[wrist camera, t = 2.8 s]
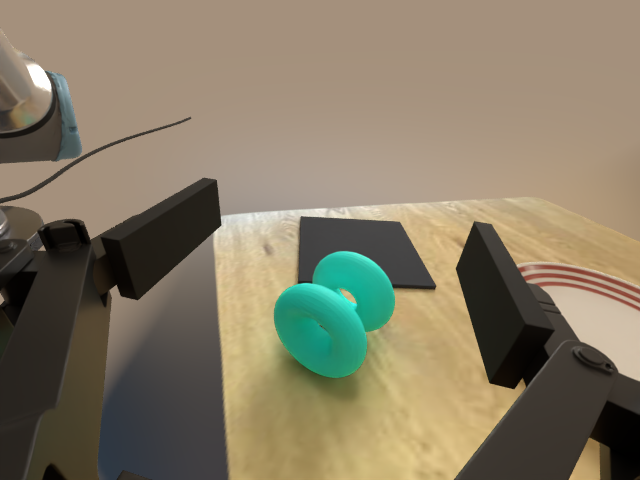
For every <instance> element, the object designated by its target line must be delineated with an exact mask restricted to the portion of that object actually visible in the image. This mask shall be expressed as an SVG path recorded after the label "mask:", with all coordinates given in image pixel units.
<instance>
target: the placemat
mask: <svg viewBox="0 0 640 480" xmlns="http://www.w3.org/2000/svg"><path fill="white" fill-rule="evenodd" d="M340 251H348V252H354V253H358V254H361V255H363V256H365V257H367V258H369V259H370V260H372V261H373V262H375V263H376V264H377V265H378V266H379V267H380V268H381V269H382V270H383V271H384V272H385V274H386V275H387V277H388V278H389V280H390V282H391V285H392V287H395V288H421V289H435V288H436V285H435V283H434V281H433V279H432V278H431V276H430V274H429V272H428V271H427V269H426V267H425V265H424V264H423V262H422V260H421V258H420V257H419V255H418V253H417V251H416V249H415V248H414V246H413V244H412V242H411V241H410V239H409V237H408V235H407V234H406V232H405V230H404V228H403V227H402V225H401V223H400V222H394V221H376V220H358V219H339V218H321V217H303V216H301V224H300V250H299V275H298V284H302V283H311V284H313V274H314V271H315V269H316V267H317V265H318V264H319V262H320V261H321V260H322V259H323V258H325V257H326V256H327V255H329V254H332V253H335V252H340Z"/></svg>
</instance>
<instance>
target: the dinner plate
mask: <svg viewBox="0 0 640 480" xmlns="http://www.w3.org/2000/svg"><path fill="white" fill-rule="evenodd" d="M516 266H517V267H518V269H519V271H520V272H521V274H522V276H523V277H524V279H525V281H526V282H527V283H532V284H537V285H538V286H540V287H541V288H542V289H543V290H544V291H546V292H547V293H548V294H549V295H550V297H551V298H552V300H553V301H554V303H555V304H556V306H557V307H558V309H559V310H560V312H561V315H563V316H564V317H565V319H566V320H567V322H568V323H569V325H570V326H571V328H572V329H573V331H574V332H575V334H576V335H577V337H578V338H579V340H580V341H581V342H584V343H586V344H588V345H590V346H592V347H594V348H596V349H598V350H599V351H601V352H602V353H604V354H605V355H606V356H607V357H608V358H609V359H610V360H611V361H612V362H614V364H615V366H616V367H617V369H618V372H619V373H621V374H623V375H625V376H628V377H630V378H633V379H635V380H638V381H640V286H638V285H635V284H633V283H630V282H628V281H625V280H622V279H620V278H617V277H614V276H611V275H608V274H605V273H602V272H598V271H595V270H591V269H587V268H583V267H579V266H574V265H569V264H562V263H554V262H527V263H521V264H517V265H516Z"/></svg>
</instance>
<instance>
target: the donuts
mask: <svg viewBox="0 0 640 480" xmlns="http://www.w3.org/2000/svg"><path fill="white" fill-rule="evenodd" d="M339 288H341V289H345V290H347V291H348V292H350V293H351V294H352V295H353V296H354V298H355V300H356V302H357V304H354V303H352V302H350V301H349V300H347V299H346V298H345V297H344V296H343V294H342V293H341V291H340V289H339ZM394 306H395V295H394V290H393V287H392V285H391V282H390V280H389V278H388V277H387V275H386V274H385V272H384V271H383V270H382V269H381V268H380V267H379V266H378V265H377V264H376V263H375V262H373V261H372V260H370V259H369V258H367V257H365V256H363V255H361V254H358V253H354V252H348V251H340V252H335V253H332V254H329V255H327V256H326V257H325V258H323V259H322V260H321V261H320V262H319V264H318V265H317V267H316V269H315V271H314V274H313V284H311V283H302V284H297V285H294V286H291V287H289V288H288V289H286V290H285V291H284V292H283V293H282V294H281V295H280V296H279V298H278V300H277V302H276V305H275V308H274V323H275V327H276V330H277V333H278V335H279V338H280V340H281V341H282V343H283V345H284V346H285V348H286V349H287V350H288V351H289V353H290V354H291V355H292V356H293V357H294V358H295V359H296V360H297V361H298V362H299V363H301V364H302V365H303V366H304V367H306V368H307V369H309V370H311V371H313V372H315V373H317V374H319V375H322V376H325V377H331V378H341V377H345V376H348V375H350V374H352V373H354V372H355V371H356V370H357V369H358V368H359V367H360V366H361V365H362V363H363V361H364V359H365V356H366V352H367V337H366V333H365V332H370V331H374V330H377V329H379V328H381V327H382V326H383V325H385V324H386V323H387V322H388V321H389V319H390V317H391V316H392V314H393V311H394ZM318 323H319V324H320V325H321V326H323V328H324V329H325V330H324V329H323V328H322V327H321V326H320V325H319V324H318Z"/></svg>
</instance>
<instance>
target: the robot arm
mask: <svg viewBox="0 0 640 480" xmlns="http://www.w3.org/2000/svg"><path fill="white" fill-rule="evenodd" d="M189 119H191V117H189V118H187V119H184V120H182V121H179V122H176V123H173V124H170V125H167V126H163V127H160V128H157V129H153V130H149V131H146V132H143V133H140V134H136V135H133V136H130V137H127V138H124V139H121V140H118V141H115V142H113V143H110V144H108V145H105V146H103V147H101V148H98V149H96V150H94V151H92V152H90V153H88V154H86V155H84V156H82V157H80V158H79V159H77V160H75V161H73V162H72V163H70V164H69V165H67V166H65V167H64V168H62V169H61V170H60V171H58V172H57V173H56V174H54V175H53V176H51V177H50V178H48V179H47V180H45V181H44V182H42V183H40V184H39V185H37V186H35V187H33V188H32V189H30V190H28V191H25V192H23V193H20V194H18V195H14V196H10V197H5V198H1V199H0V203H4V202H7V201H11V200H16V199H19V198H22V197H25V196H27V195H29V194H31V193H33V192H35V191H37V190H38V189H40V188H42V187H44V186H45V185H47V184H48V183H50V182H51V181H53V180H54V179H56V178H57V177H58V176H60V175H61V174H62V173H63V172H65V171H66V170H68V169H69V168H70V167H72V166H74V165H75V164H77V163H79V162H80V161H82V160H84V159H85V158H87V157H89V156H91V155H93V154H95V153H97V152H99V151H101V150H103V149H106V148H108V147H110V146H113V145H115V144H118V143H121V142H123V141H126V140H129V139H132V138H135V137H138V136H141V135H144V134H147V133H151V132H154V131H157V130H161V129H164V128H167V127H171V126H173V125H177V124H180V123H182V122H184V121H187V120H189ZM81 152H82V146H81V141H80V137H79V132H78V128H77V123H76V119H75V114H74V110H73V106H72V101H71V97H70V93H69V89H68V85H67V81H66V79H65V77H64V76H63V75H61V74H58V73H52V72H50V71H43V70H42V68H41V67H40V66H39V65H38V64H37V63H36V62H35V61H34V60H32V59H31V58H30V57H29V56H27V55H26V54H24V53H23V52H21V51H19V50H17V49H15V48H13V47H12V46H11V44H10V42H9V41H8V39H7V38H6V36H5V35H4V33H3V31H2V30H1V28H0V164H1V163H17V162H33V161H50V160H51V161H59V160H61V159H71V158H76V157H78V156H79V155H80V154H81ZM220 226H221V216H220V206H219V197H218V187H217V180H215V179H208V178H202V179H201V180H199V181H197V182H195V183H194V184H192V185H190V186H188V187H187V188H185V189H183V190H182V191H180V192H178V193H176V194H174V195H173V196H171V197H169V198H167V199H165V200H164V201H162V202H160V203H158V204H157V205H155V206H153V207H152V208H150V209H148V210H146V211H144V212H143V213H141V214H139V215H135V216H132V217H131V218H129V219H127V220H125V221H124V222H123V223H120V224H118V225H116V226H115V227H113V228H111V229H109V230H107V231H106V232H104V233H102V234H100V235H98V236H97V237H95V238H93V239H91V240H90V237H89V235H88V232H87V229H86V227H85V224H84V222H83V221H81V220H77V219H65V220H58V221H54V222H51V223H48V224H46V225H44V226H42V227H40V228H39V229H38V230H37V232H38V234H39V236H40V239H41V241H42V243H43V245H44V247H45V249H46V251H32V249H31V247H30V245H29V243H28V241H27V240H24V239H3V240H2V241H1V240H0V293H1V295H2V297H3V298H4V300H5V301H4V302H3V303H2V304H1V305H0V480H99V477H98V470H97V459H98V448H99V437H100V425H101V414H102V401H103V391H104V379H105V367H106V356H107V345H108V333H109V322H110V311H111V299H112V297H111V294H110V291H109V290H110V289H111V288H113V287H114V286H115V285H117V287H118V289H119V292H120V295H121V296H122V297H126V298H130V299H135V300H139V299H140V298H141V297H142V296H143V295H144V294H145V293H146V292H147V291H149V290H150V289H151V288H152V287H153V286H154V285H155V284H156V283H157V282H159V281H160V280H161V279H162V278H163V277H164V276H165V275H167V274H168V273H169V272H170V271H171V270H172V269H173V268H174V267H175V266H176V265H178V264H179V263H180V262H181V261H182V260H183V259H184V258H185V257H187V256H188V255H189V254H190V253H191V252H192V251H193V250H194V249H195V248H197V247H198V246H199V245H200V244H201V243H202V242H203V241H204V240H206V239H207V237H209V236H210V235H211V234H212V233H213V232H214V231H216V230H217V229H218V228H219V227H220ZM9 229H10V223H9V221H8V219H7V217H6V215H5V214H4V213H3V211H2V210H1V209H0V238H1V237H2V236H4V235H5V234H6V233H7V232H8V230H9ZM456 271H457V274H458V278H459V281H460V284H461V288H462V291H463V295H464V298H465V302H466V305H467V308H468V312H469V315H470V319H471V322H472V325H473V329H474V332H475V336H476V339H477V342H478V346H479V349H480V353H481V356H482V360H483V363H484V366H485V370H486V373H487V377H488V380H489V383H490V384H494V385H499V386H503V387H507V388H511V389H515V388H516V386H517V385H518V383H519V382H520V380H521V379H522V377H523V380H524V382H525V385H526V389H525V390H524V391H523V392H522V394H521V395H520V396H519V397H518V399H517V400H516V401H515V402H514V404H513V405H512V406H511V408H510V409H509V410H508V411H507V413H506V414H505V415H504V416H503V418H502V419H501V420H500V422H499V423H498V424H497V425H496V427H495V428H494V429H493V430H492V432H491V433H490V434H489V436H488V437H487V438H486V439H485V441H484V442H483V443H482V444H481V446H480V447H479V448H478V450H477V451H476V452H475V453H474V455H473V456H472V457H471V458H470V460H469V461H468V462H467V464H466V465H465V466H464V467H463V469H462V470H461V471H460V472H459V474H458V475H457V476H456V478H455V479H454V480H569V478H570V476H571V474H572V472H573V469H574V467H575V465H576V463H577V461H578V459H579V457H580V455H581V453H582V451H583V449H584V447H585V445H586V443H587V441H588V438H589V437H590V438H592V439H594V440H596V441H598V442H600V480H640V381H638V380H635V379H633V378H630V377H628V376H625V375H623V374H621V373H619V372H618V369H617V367H616V366H615V364H614V362H612V361H611V360H610V359H609V358H608V357H607V356H606V355H605V354H604V353H602V352H601V351H599V350H598V349H596V348H594V347H592V346H590V345H588V344H586V343H584V342H581V341H580V340H579V338H578V337H577V335H576V334H575V332H574V331H573V329H572V328H571V326H570V325H569V323H568V322H567V320H566V319H565V317H564V316H563V315H561V312H560V310H559V309H558V307H557V306H556V304H555V303H554V301H553V300H552V298H551V297H550V295H549V294H548V293H547V292H546V291H544V290H543V289H542V288H541V287H540V286H538V285H537V284H532V283H527V282H526V281H525V279H524V277H523V276H522V274H521V272H520V271H519V269H518V267H517V266H516V264H515V262H514V261H513V259H512V257H511V256H510V254H509V252H508V251H507V249H506V247H505V246H504V244H503V242H502V241H501V239H500V238H499V236H498V234H497V233H496V231H495V229H494V228H493V226H492V224H487V223H481V222H475V221H474V223H473V226H472V228H471V231H470V234H469V236H468V239H467V241H466V244H465V246H464V249H463V252H462V254H461V257H460V259H459V262H458V264H457V267H456ZM117 480H151V479H148V478H145V477H142V476H139V475H136V474H133V473H130V472H127V471H124V470H123V471H122V472H121V474H120V475H119V477H118V478H117Z"/></svg>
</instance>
